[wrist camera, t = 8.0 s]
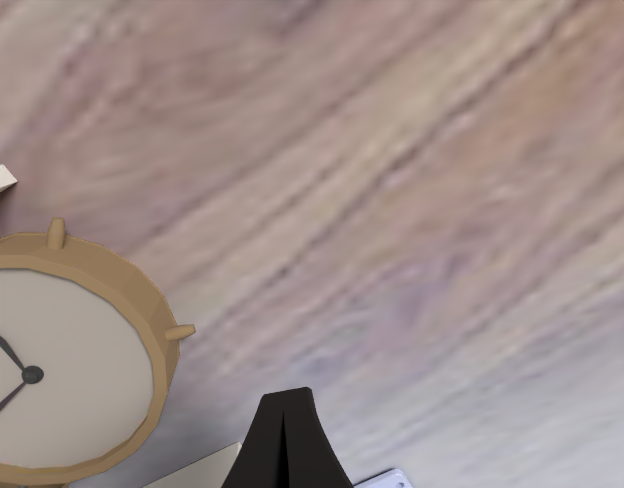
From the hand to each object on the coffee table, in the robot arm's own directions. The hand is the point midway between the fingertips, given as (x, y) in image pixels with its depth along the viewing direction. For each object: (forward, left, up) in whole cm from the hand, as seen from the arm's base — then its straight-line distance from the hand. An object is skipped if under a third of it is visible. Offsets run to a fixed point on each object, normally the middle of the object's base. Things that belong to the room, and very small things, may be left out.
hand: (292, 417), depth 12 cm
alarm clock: (+3, +13, -9) cm, 16 cm away
